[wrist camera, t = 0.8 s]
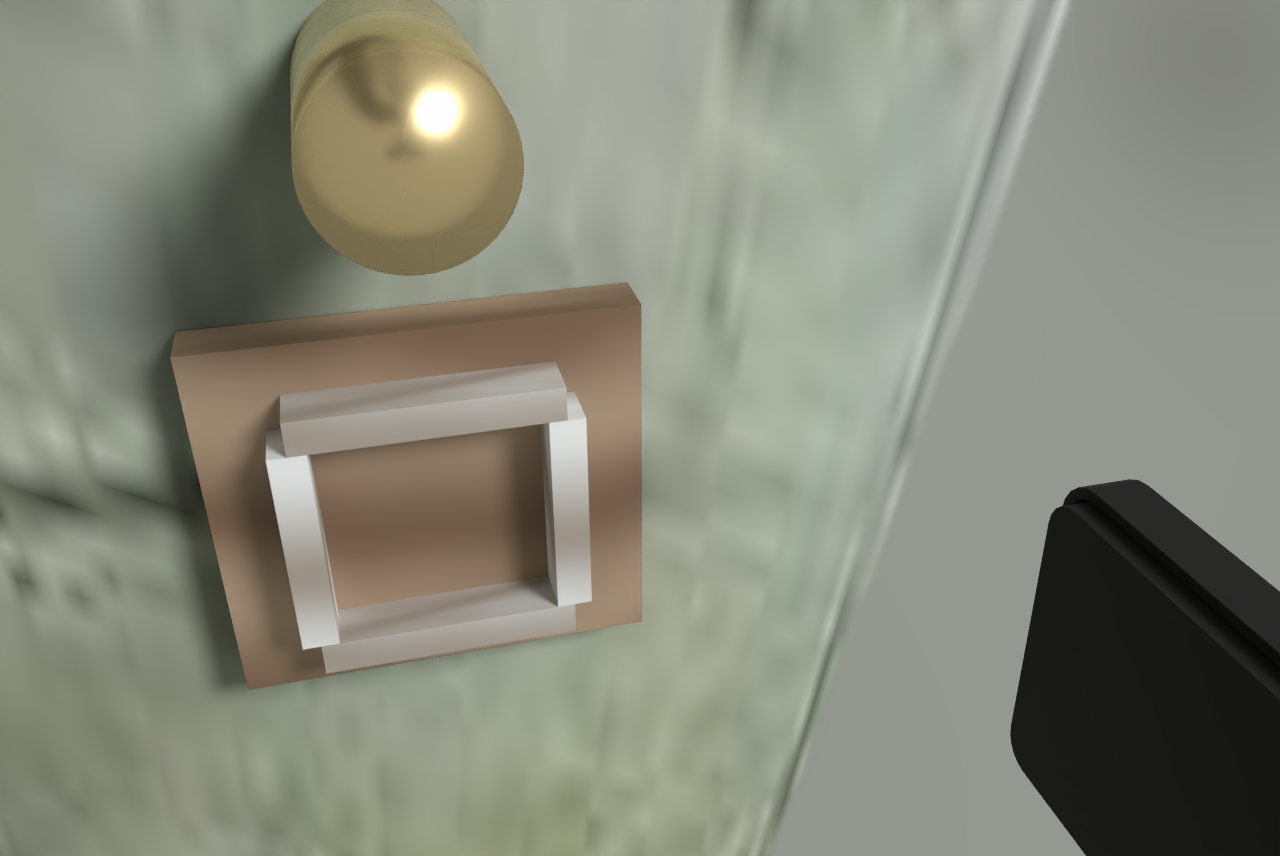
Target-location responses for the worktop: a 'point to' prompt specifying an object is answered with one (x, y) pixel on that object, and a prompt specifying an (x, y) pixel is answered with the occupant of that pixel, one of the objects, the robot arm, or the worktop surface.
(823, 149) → the worktop surface
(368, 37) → the cylinder
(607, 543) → the fitting board
